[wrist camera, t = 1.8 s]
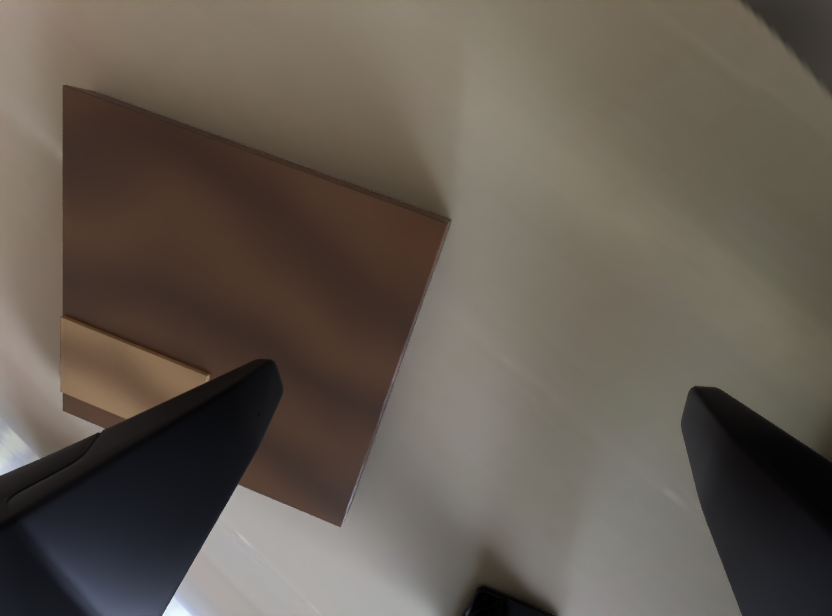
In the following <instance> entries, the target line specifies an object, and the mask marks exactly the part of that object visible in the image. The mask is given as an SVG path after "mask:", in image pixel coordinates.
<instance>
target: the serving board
mask: <svg viewBox="0 0 832 616" xmlns="http://www.w3.org/2000/svg"><path fill="white" fill-rule="evenodd" d="M450 224H451V219H448V218H446V217H443V216H440V215H437V214H434V213H432V212H429V211H426V210H423V209H421V208H418V207H415V206H412V205H409V204H407V203H404V202H401V201H398V200H395V199H393V198H390V197H387V196H384V195H382V194H379V193H376V192H373V191H370V190H368V189H365V188H362V187H359V186H357V185H354V184H351V183H348V182H345V181H343V180H340V179H337V178H334V177H331V176H329V175H326V174H323V173H320V172H318V171H315V170H312V169H309V168H306V167H304V166H301V165H298V164H295V163H293V162H290V161H287V160H284V159H281V158H279V157H276V156H273V155H270V154H267V153H265V152H262V151H259V150H256V149H254V148H251V147H248V146H245V145H242V144H240V143H237V142H234V141H231V140H228V139H226V138H223V137H220V136H217V135H215V134H212V133H209V132H206V131H203V130H201V129H198V128H195V127H192V126H190V125H187V124H184V123H181V122H178V121H176V120H173V119H170V118H167V117H164V116H162V115H159V114H156V113H153V112H151V111H148V110H145V109H142V108H139V107H137V106H134V105H131V104H128V103H126V102H123V101H120V100H117V99H114V98H112V97H109V96H106V95H103V94H100V93H98V92H95V91H91V90H87V89H82V88H77V87H73V86H68V85H63V316H62V317H60V366H61V392H63V411H65V412H67V413H69V414H72V415H74V416H77V417H79V418H81V419H84V420H86V421H89V422H91V423H93V424H96V425H98V426H100V427H103V428H105V429H107V428H109V427H111V426H114V425H116V424H118V423H120V422H122V421H124V420H127V419H129V418H131V417H133V416H135V415H137V414H139V413H142V412H144V411H146V410H148V409H150V408H152V407H154V406H157V405H159V404H161V403H163V402H165V401H167V400H170V399H172V398H174V397H176V396H178V395H180V394H182V393H185V392H187V391H189V390H191V389H193V388H195V387H197V386H200V385H202V384H204V383H206V382H208V381H210V380H213V379H215V378H217V377H219V376H221V375H223V374H225V373H228V372H230V371H232V370H234V369H236V368H238V367H241V366H243V365H245V364H247V363H249V362H251V361H253V360H256V359H271V360H273V361H275V363H276V364H277V367H278V370H279V373H280V376H281V380H282V383H283V387H284V391H283V396H282V398H281V400H280V402H279V405H278V407H277V409H276V411H275V413H274V416H273V418H272V420H271V422H270V424H269V427H268V429H267V431H266V433H265V435H264V438H263V440H262V442H261V444H260V446H259V448H258V450H257V452H256V454H255V455H254V457H253V459H252V461H251V463H250V464H249V466H248V468H247V469H246V471H245V473H244V475H243V476H242V478H241V480H240V482H239V483H238V484H239V485H241V486H243V487H246V488H248V489H250V490H253V491H255V492H258V493H260V494H262V495H265V496H267V497H269V498H272V499H274V500H277V501H279V502H281V503H284V504H286V505H289V506H291V507H293V508H296V509H298V510H300V511H303V512H305V513H308V514H310V515H312V516H315V517H317V518H320V519H322V520H324V521H327V522H329V523H331V524H334V525H336V526H339V527H342V525H343V523H344V521H345V518H346V516H347V514H348V511H349V509H350V506H351V504H352V501H353V498H354V495H355V492H356V489H357V487H358V484H359V481H360V478H361V475H362V472H363V470H364V467H365V464H366V461H367V458H368V456H369V453H370V450H371V447H372V444H373V441H374V439H375V436H376V433H377V430H378V427H379V424H380V422H381V419H382V416H383V413H384V410H385V407H386V405H387V402H388V399H389V396H390V393H391V391H392V388H393V385H394V382H395V379H396V376H397V374H398V371H399V368H400V365H401V362H402V359H403V357H404V354H405V351H406V348H407V345H408V343H409V340H410V337H411V334H412V331H413V328H414V326H415V323H416V320H417V317H418V314H419V311H420V309H421V306H422V303H423V300H424V297H425V295H426V292H427V289H428V286H429V283H430V280H431V278H432V275H433V272H434V269H435V266H436V263H437V261H438V258H439V255H440V252H441V249H442V246H443V244H444V241H445V238H446V235H447V232H448V230H449V227H450Z"/></svg>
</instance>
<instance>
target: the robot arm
mask: <svg viewBox="0 0 832 616" xmlns="http://www.w3.org/2000/svg"><path fill="white" fill-rule="evenodd" d="M283 391H284V387H283V383H282V380H281V376H280V373H279V370H278V367H277V364H276V363H275V361H273V360H271V359H256V360H253V361H251V362H249V363H247V364H245V365H243V366H241V367H238V368H236V369H234V370H232V371H230V372H228V373H225V374H223V375H221V376H219V377H217V378H215V379H213V380H210V381H208V382H206V383H204V384H202V385H200V386H197V387H195V388H193V389H191V390H189V391H187V392H185V393H182V394H180V395H178V396H176V397H174V398H172V399H170V400H167V401H165V402H163V403H161V404H159V405H157V406H154V407H152V408H150V409H148V410H146V411H144V412H142V413H139V414H137V415H135V416H133V417H131V418H129V419H127V420H124V421H122V422H120V423H118V424H116V425H114V426H111V427H109V428H107V429H105V430H103V431H102V432H101V433H96V434H94V435H92V436H90V437H88V438H85V439H83V440H81V441H79V442H77V443H75V444H72V445H70V446H68V447H66V448H64V449H61V450H59V451H57V452H55V453H52V454H50V455H48V456H46V457H43V458H41V459H39V460H36V461H34V462H32V463H29V464H27V465H25V466H22V467H20V468H18V469H15V470H13V471H10V472H8V473H6V474H3V475H1V476H0V616H162V615H163V613H164V611H165V610H166V608H167V606H168V604H169V603H170V601H171V599H172V597H173V596H174V594H175V592H176V590H177V589H178V587H179V585H180V584H181V582H182V580H183V578H184V577H185V575H186V573H187V571H188V570H189V568H190V566H191V565H192V563H193V561H194V559H195V558H196V556H197V554H198V552H199V551H200V549H201V547H202V546H203V544H204V542H205V540H206V539H207V537H208V535H209V533H210V532H211V530H212V528H213V527H214V525H215V523H216V521H217V520H218V518H219V516H220V514H221V513H222V511H223V509H224V507H225V506H226V504H227V502H228V501H229V499H230V497H231V495H232V494H233V492H234V490H235V488H236V487H237V485H238V483H239V482H240V480H241V478H242V476H243V475H244V473H245V471H246V469H247V468H248V466H249V464H250V463H251V461H252V459H253V457H254V455H255V454H256V452H257V450H258V448H259V446H260V444H261V442H262V440H263V438H264V435H265V433H266V431H267V429H268V427H269V424H270V422H271V420H272V418H273V416H274V413H275V411H276V409H277V407H278V405H279V402H280V400H281V398H282V396H283ZM681 429H682V434H683V438H684V442H685V446H686V450H687V454H688V458H689V462H690V466H691V470H692V474H693V478H694V482H695V486H696V490H697V494H698V497H699V501H700V504H701V508H702V511H703V514H704V516H705V519H706V522H707V525H708V527H709V530H710V532H711V535H712V538H713V540H714V543H715V546H716V548H717V551H718V553H719V556H720V559H721V561H722V564H723V566H724V569H725V572H726V574H727V577H728V580H729V582H730V585H731V587H732V590H733V593H734V595H735V598H736V600H737V603H738V606H739V608H740V611H741V614H742V616H832V462H831V461H829V460H828V459H826V458H825V457H823V456H822V455H820V454H819V453H817V452H816V451H814V450H812V449H811V448H809V447H808V446H806V445H805V444H803V443H802V442H800V441H799V440H797V439H796V438H794V437H793V436H791V435H790V434H788V433H786V432H785V431H783V430H782V429H780V428H779V427H777V426H776V425H774V424H773V423H771V422H770V421H768V420H767V419H765V418H764V417H762V416H761V415H759V414H757V413H756V412H754V411H753V410H751V409H750V408H748V407H747V406H745V405H744V404H742V403H741V402H739V401H738V400H736V399H735V398H733V397H731V396H730V395H728V394H727V393H725V392H724V391H722V390H721V389H719V388H716V387H704V386H694V387H692V388H691V389H690V390H689V392H688V396H687V400H686V403H685V407H684V411H683V415H682V419H681ZM462 616H554V615H552V614H549V613H547V612H545V611H542V610H540V609H538V608H535V607H533V606H530V605H528V604H526V603H523V602H521V601H519V600H516V599H514V598H511V597H509V596H507V595H504V594H502V593H499V592H497V591H495V590H492V589H490V588H488V587H485V586H480V587H478V588H477V590H476V591H475V593H474V595H473V597H472V598H471V600H470V602H469V604H468V605H467V607H466V609H465V611H464V613H463V614H462Z"/></svg>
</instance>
